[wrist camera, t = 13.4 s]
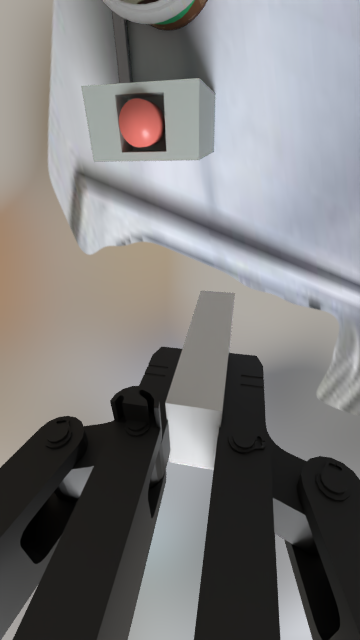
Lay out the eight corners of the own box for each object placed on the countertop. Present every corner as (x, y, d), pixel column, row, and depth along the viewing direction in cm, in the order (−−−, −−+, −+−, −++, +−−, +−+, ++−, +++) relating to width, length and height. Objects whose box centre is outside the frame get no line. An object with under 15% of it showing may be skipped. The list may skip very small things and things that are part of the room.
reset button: (163, 99, 25) (156, 97, 23) (166, 145, 27) (159, 146, 25) (126, 101, 26) (116, 99, 24) (131, 146, 28) (121, 147, 26)
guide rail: (115, -135, 25) (110, -145, 24) (136, 104, 35) (133, 103, 34) (96, -131, 26) (90, -141, 25) (122, 105, 35) (118, 104, 34)
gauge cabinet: (215, 88, 32) (199, 69, 22) (213, 151, 36) (198, 160, 26) (129, 93, 34) (80, 78, 24) (135, 153, 37) (93, 161, 28)
